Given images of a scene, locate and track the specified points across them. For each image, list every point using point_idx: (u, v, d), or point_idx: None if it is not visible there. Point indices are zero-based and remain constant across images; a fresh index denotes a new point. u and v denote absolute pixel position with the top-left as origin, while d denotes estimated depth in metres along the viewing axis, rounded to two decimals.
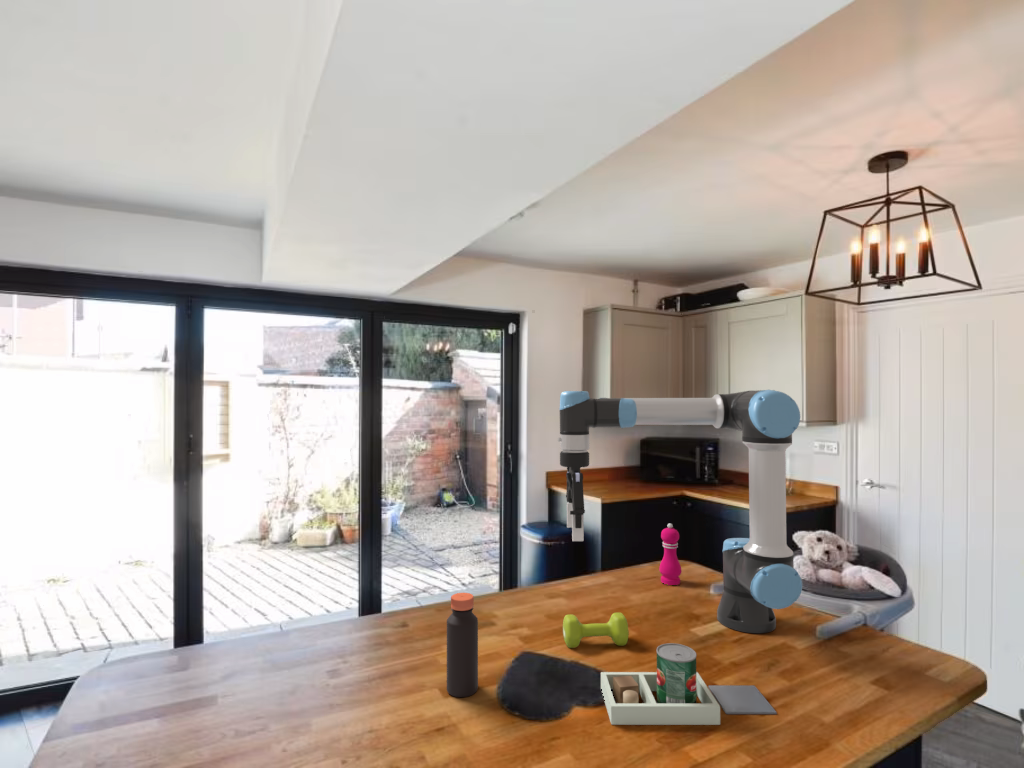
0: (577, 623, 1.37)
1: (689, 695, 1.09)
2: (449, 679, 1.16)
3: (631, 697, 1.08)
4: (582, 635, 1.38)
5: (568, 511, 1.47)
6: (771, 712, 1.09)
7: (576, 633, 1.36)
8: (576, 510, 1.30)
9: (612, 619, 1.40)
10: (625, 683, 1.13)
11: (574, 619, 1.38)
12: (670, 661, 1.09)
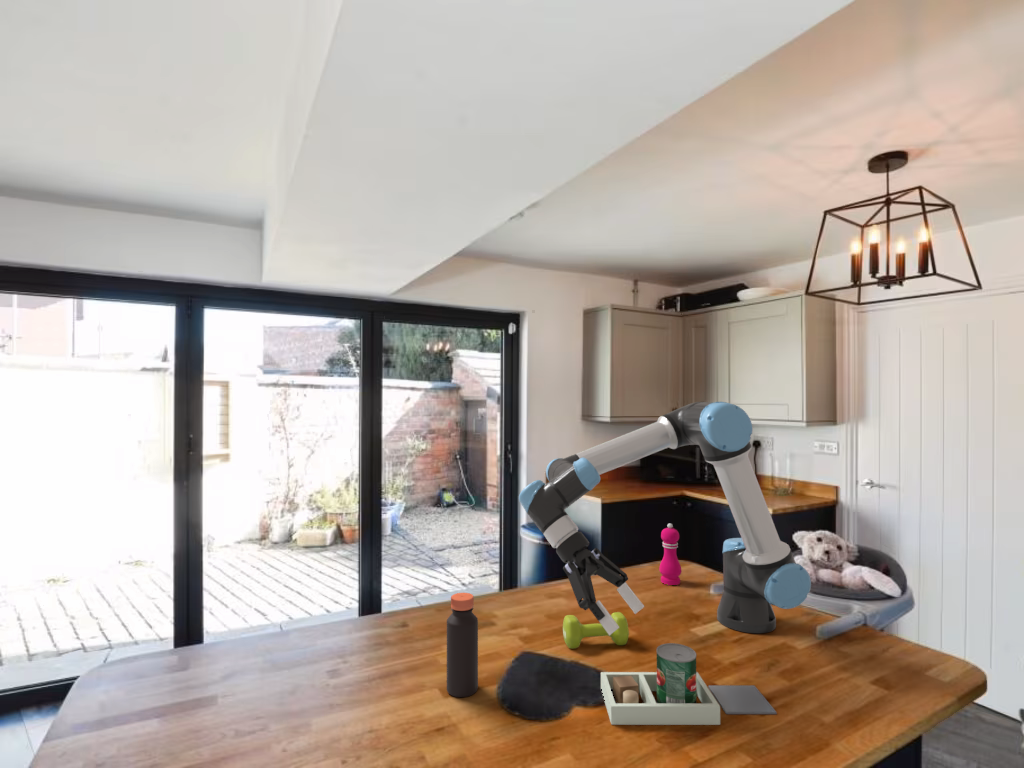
0: (578, 623, 1.37)
1: (689, 695, 1.09)
2: (449, 679, 1.16)
3: (631, 697, 1.08)
4: (583, 635, 1.38)
5: (623, 596, 1.26)
6: (771, 712, 1.09)
7: (577, 633, 1.36)
8: (580, 604, 1.14)
9: None
10: (625, 683, 1.13)
11: (574, 619, 1.38)
12: (670, 661, 1.09)
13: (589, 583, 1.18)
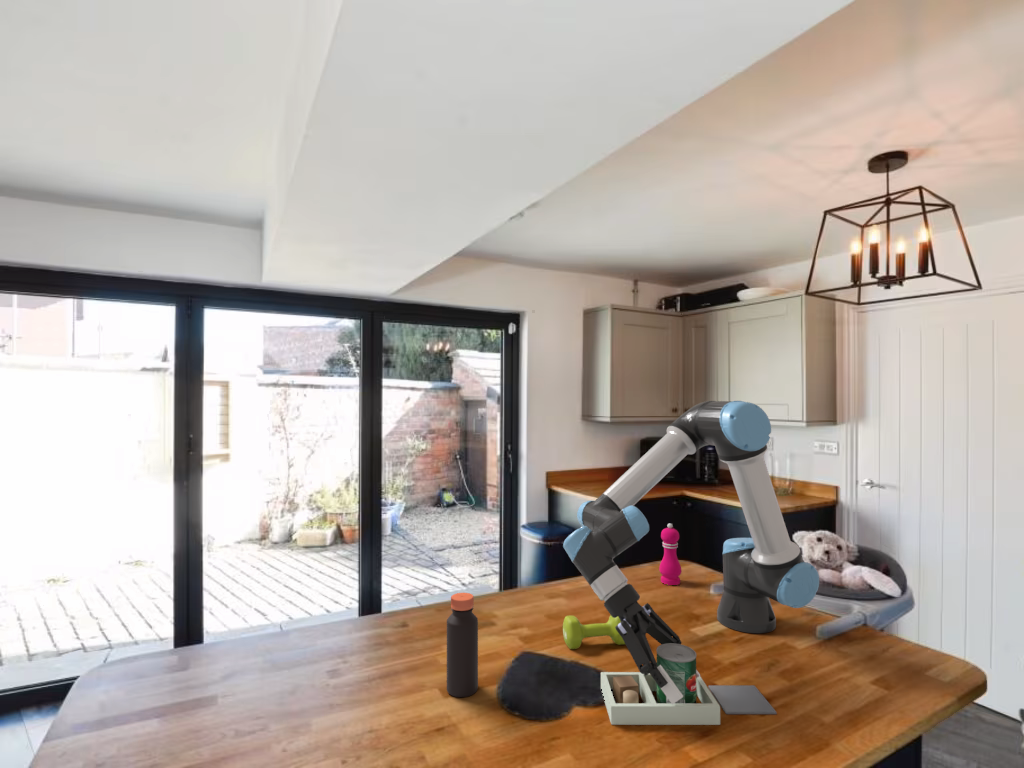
0: (578, 624, 1.37)
1: (689, 695, 1.09)
2: (449, 679, 1.16)
3: (631, 697, 1.08)
4: (583, 636, 1.38)
5: None
6: (771, 712, 1.09)
7: (578, 634, 1.35)
8: (641, 669, 1.07)
9: (611, 619, 1.41)
10: (625, 683, 1.13)
11: (575, 620, 1.38)
12: (670, 661, 1.09)
13: (646, 644, 1.10)
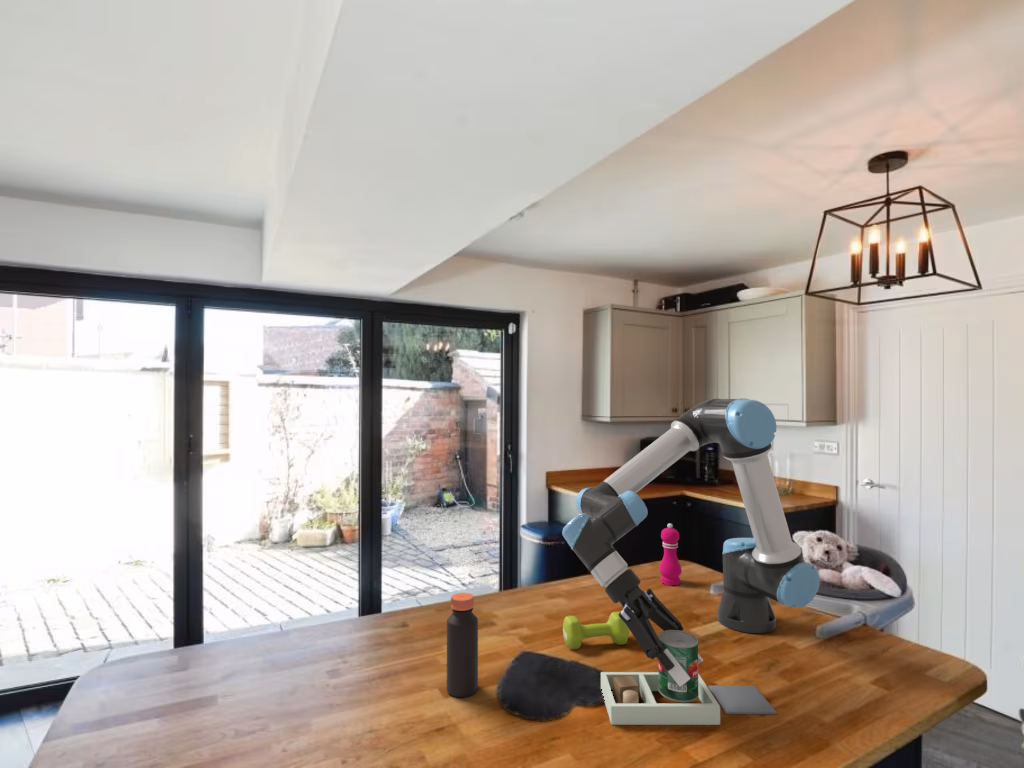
0: (579, 624, 1.37)
1: (691, 681, 1.08)
2: (449, 678, 1.16)
3: (631, 697, 1.08)
4: (583, 636, 1.37)
5: None
6: (771, 712, 1.09)
7: (578, 634, 1.35)
8: (648, 654, 1.07)
9: (611, 619, 1.41)
10: (625, 683, 1.13)
11: (575, 620, 1.37)
12: (671, 647, 1.09)
13: (650, 628, 1.11)
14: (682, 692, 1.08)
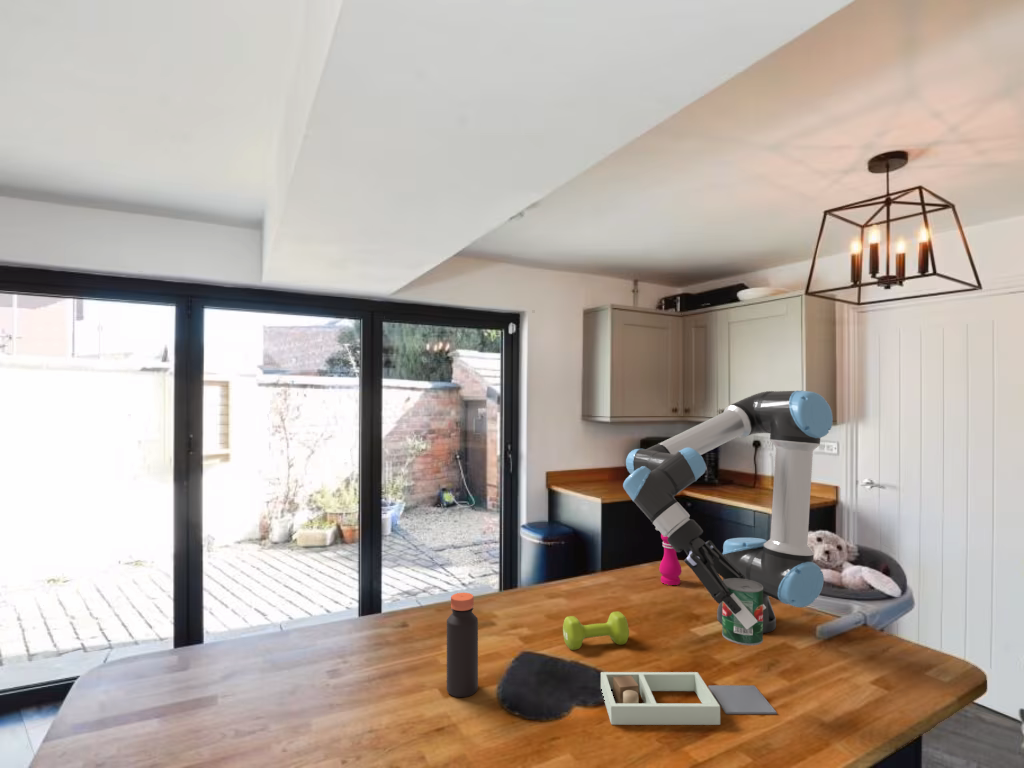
0: (579, 624, 1.37)
1: (757, 625, 1.10)
2: (449, 679, 1.16)
3: (631, 697, 1.08)
4: (584, 636, 1.37)
5: None
6: (771, 712, 1.09)
7: (579, 634, 1.35)
8: (716, 597, 1.10)
9: (611, 619, 1.41)
10: (625, 683, 1.13)
11: (576, 620, 1.37)
12: (738, 591, 1.11)
13: (716, 574, 1.13)
14: (748, 635, 1.10)
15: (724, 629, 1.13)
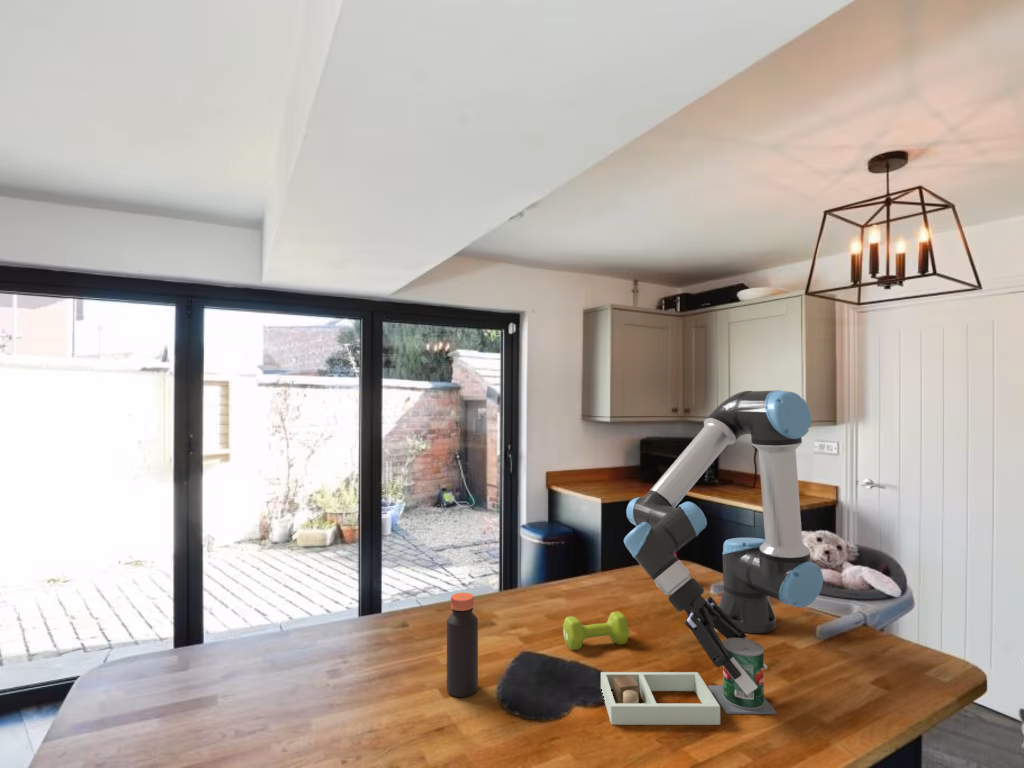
0: (580, 625, 1.36)
1: (758, 689, 1.10)
2: (449, 679, 1.16)
3: (631, 697, 1.08)
4: (584, 636, 1.37)
5: None
6: (771, 712, 1.09)
7: (579, 635, 1.35)
8: (715, 662, 1.09)
9: (611, 619, 1.41)
10: (625, 683, 1.13)
11: (576, 621, 1.37)
12: (738, 655, 1.11)
13: (716, 637, 1.13)
14: (749, 699, 1.10)
15: (725, 691, 1.13)
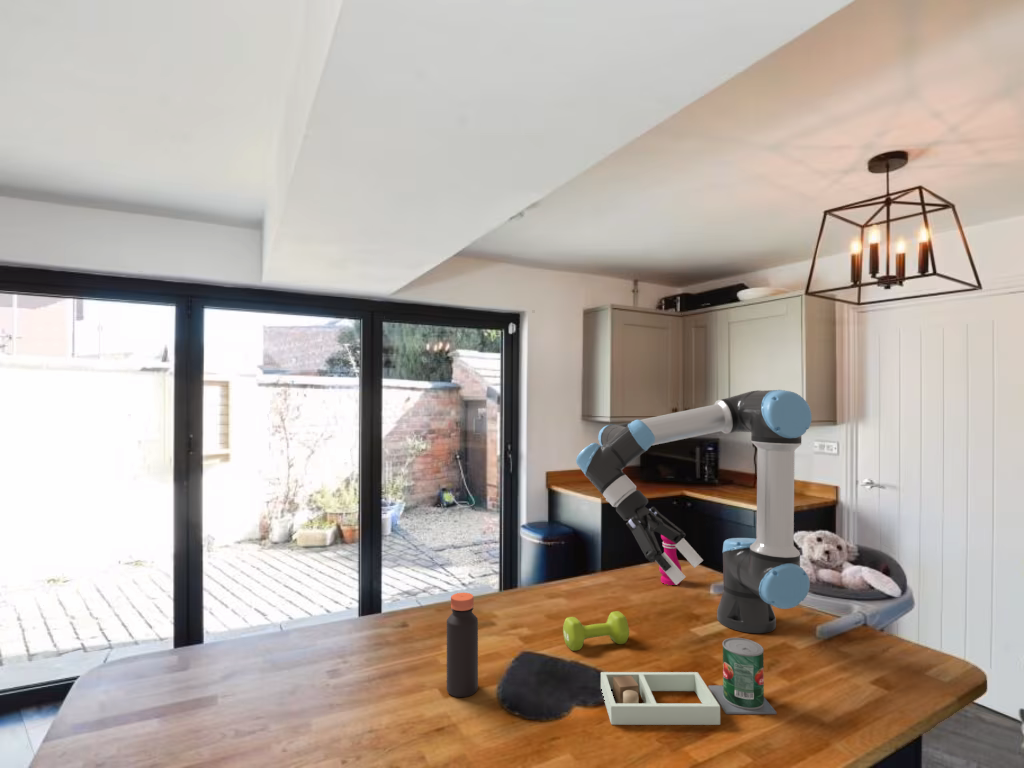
0: (580, 625, 1.36)
1: (758, 689, 1.10)
2: (449, 679, 1.16)
3: (631, 697, 1.08)
4: (585, 637, 1.37)
5: (682, 552, 1.30)
6: (771, 712, 1.09)
7: (580, 635, 1.35)
8: (647, 556, 1.18)
9: (611, 618, 1.41)
10: (625, 683, 1.13)
11: (577, 621, 1.37)
12: (738, 655, 1.11)
13: (653, 536, 1.22)
14: (749, 699, 1.10)
15: (725, 691, 1.13)
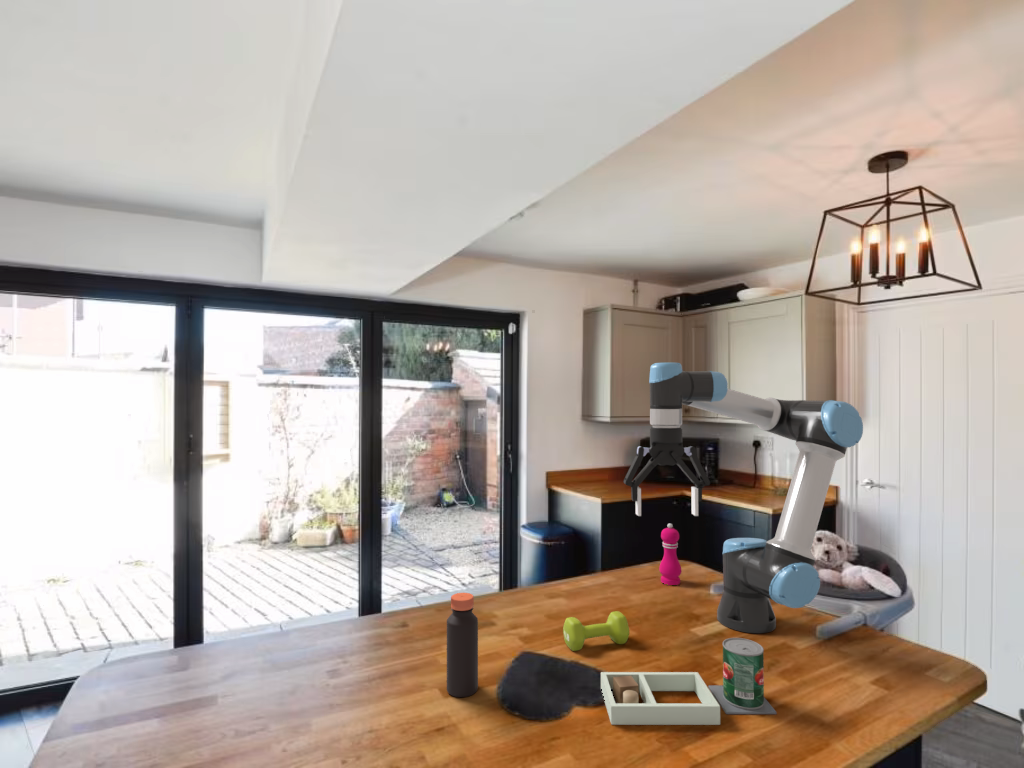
0: (581, 625, 1.36)
1: (758, 689, 1.10)
2: (449, 679, 1.16)
3: (631, 697, 1.08)
4: (585, 637, 1.37)
5: (691, 495, 1.33)
6: (771, 712, 1.09)
7: (581, 635, 1.35)
8: (624, 480, 1.32)
9: (611, 618, 1.41)
10: (625, 683, 1.13)
11: (577, 621, 1.37)
12: (738, 655, 1.11)
13: (645, 472, 1.31)
14: (749, 699, 1.10)
15: (725, 691, 1.13)
